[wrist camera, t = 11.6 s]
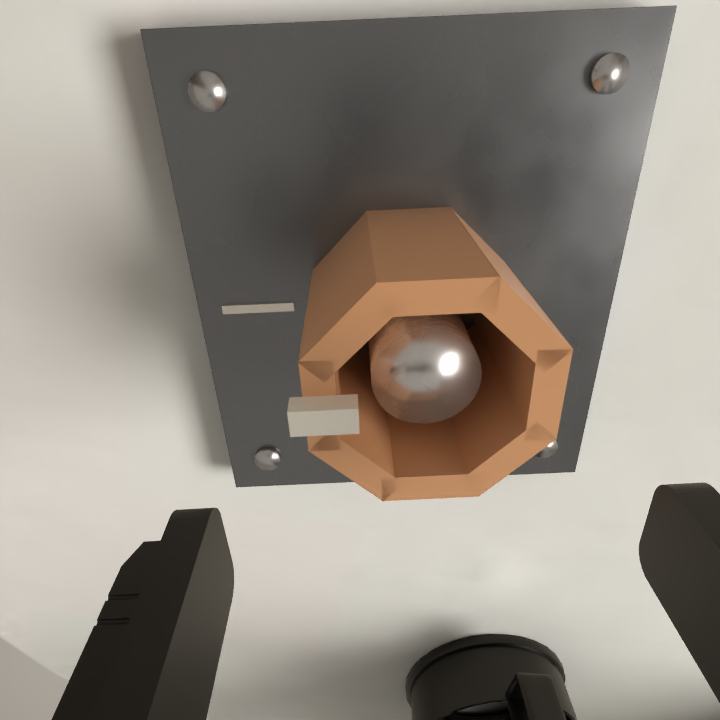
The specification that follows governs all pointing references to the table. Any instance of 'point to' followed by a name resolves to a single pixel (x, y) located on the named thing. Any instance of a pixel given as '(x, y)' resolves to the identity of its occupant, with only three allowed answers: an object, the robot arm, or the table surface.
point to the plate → (401, 191)
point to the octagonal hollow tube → (415, 298)
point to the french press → (489, 680)
